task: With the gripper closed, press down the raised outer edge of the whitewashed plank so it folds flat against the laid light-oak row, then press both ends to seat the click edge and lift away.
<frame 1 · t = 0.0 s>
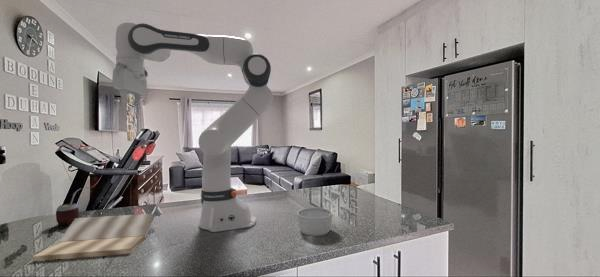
hand: (131, 104, 100), 48 cm above the counter, tool pointing down, fingers open, 8 cm apart
ramekin: (314, 231, 99), on the counter
mate gourd: (69, 224, 108), on the counter
laid oak row: (93, 250, 84), on the counter
whitewashed plank: (109, 228, 94), point 3 cm above the counter, hinge at 30.0°
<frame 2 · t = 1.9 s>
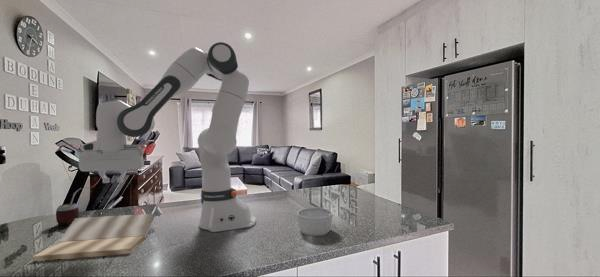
hand: (113, 182, 97), 19 cm above the counter, tool pointing down, fingers open, 3 cm apart
nothing on the counter moved.
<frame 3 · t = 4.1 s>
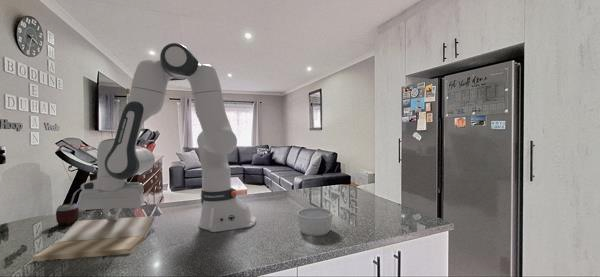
hand: (112, 220, 97), 5 cm above the counter, tool pointing down, fingers closed, pressing on whitewashed plank
whitewashed plank: (110, 229, 94), point 3 cm above the counter, hinge at 22.5°, touching gripper
everything else where it was.
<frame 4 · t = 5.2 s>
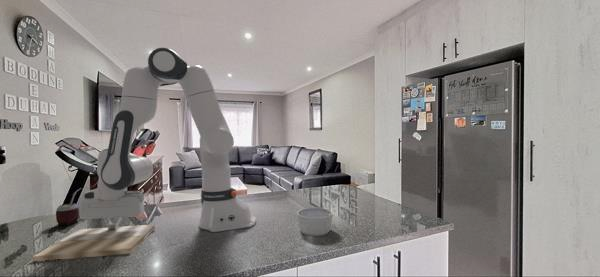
hand: (113, 229, 97), 2 cm above the counter, tool pointing down, fingers closed, pressing on whitewashed plank
whitewashed plank: (110, 234, 94), point 1 cm above the counter, hinge at 2.3°, touching gripper
everything else where it was.
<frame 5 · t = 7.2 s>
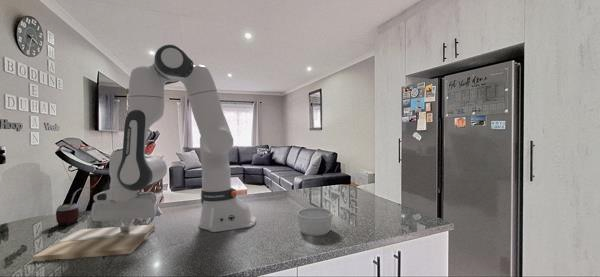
hand: (125, 230, 96), 2 cm above the counter, tool pointing down, fingers closed, pressing on whitewashed plank
whitewashed plank: (110, 234, 94), point 1 cm above the counter, hinge at 2.0°, touching gripper
everything else where it was.
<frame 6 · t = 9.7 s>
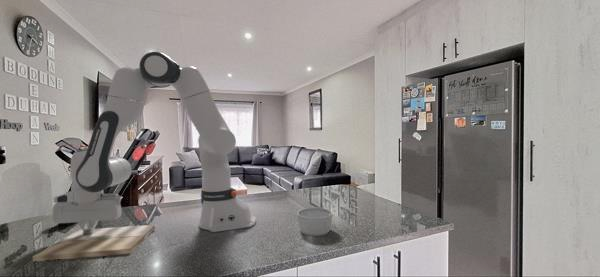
hand: (88, 233, 94), 2 cm above the counter, tool pointing down, fingers closed, pressing on whitewashed plank
whitewashed plank: (110, 234, 94), point 1 cm above the counter, hinge at 1.5°, touching gripper
everything else where it was.
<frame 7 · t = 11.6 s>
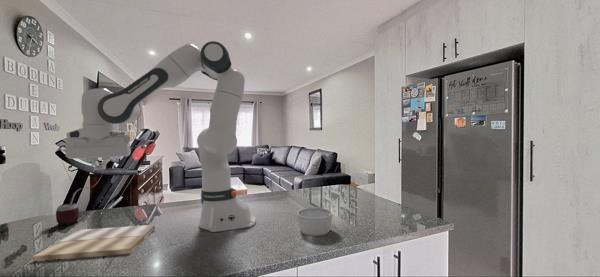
hand: (100, 169, 99), 24 cm above the counter, tool pointing down, fingers closed
whitewashed plank: (110, 234, 94), point 1 cm above the counter, hinge at 1.5°
everything else where it was.
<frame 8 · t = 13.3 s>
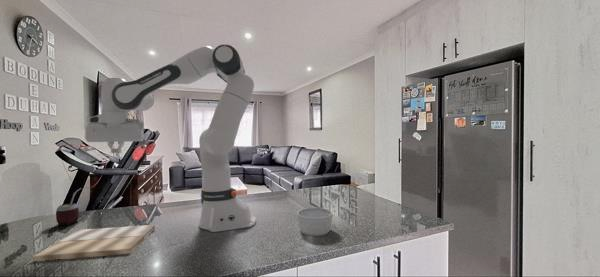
hand: (116, 153, 107), 29 cm above the counter, tool pointing down, fingers closed
nothing on the counter moved.
at the end: whitewashed plank at +2° (first picture: +30°); the gripper is holding nothing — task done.
